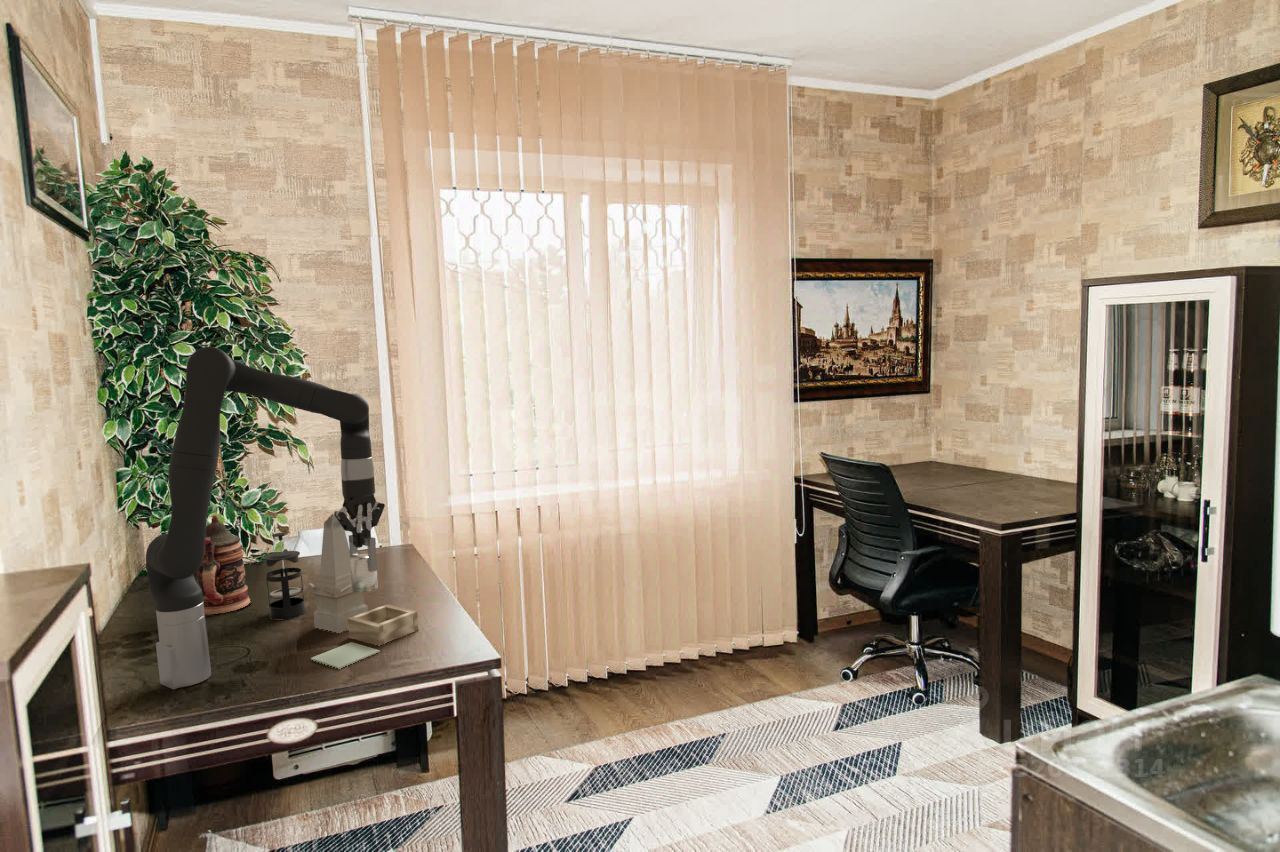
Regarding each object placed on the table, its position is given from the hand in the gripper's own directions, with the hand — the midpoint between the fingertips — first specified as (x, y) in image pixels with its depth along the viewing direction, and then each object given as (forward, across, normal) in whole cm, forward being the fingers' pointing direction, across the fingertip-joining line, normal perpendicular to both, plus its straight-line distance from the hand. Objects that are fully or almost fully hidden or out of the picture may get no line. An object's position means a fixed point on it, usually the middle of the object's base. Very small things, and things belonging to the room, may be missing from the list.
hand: (362, 545), depth 193 cm
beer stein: (+25, +4, -61) cm, 66 cm away
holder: (+24, -6, -1) cm, 25 cm away
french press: (+25, -3, -39) cm, 46 cm away
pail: (+11, 0, 0) cm, 11 cm away
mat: (+24, +8, +3) cm, 26 cm away
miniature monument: (+24, -5, -17) cm, 30 cm away
